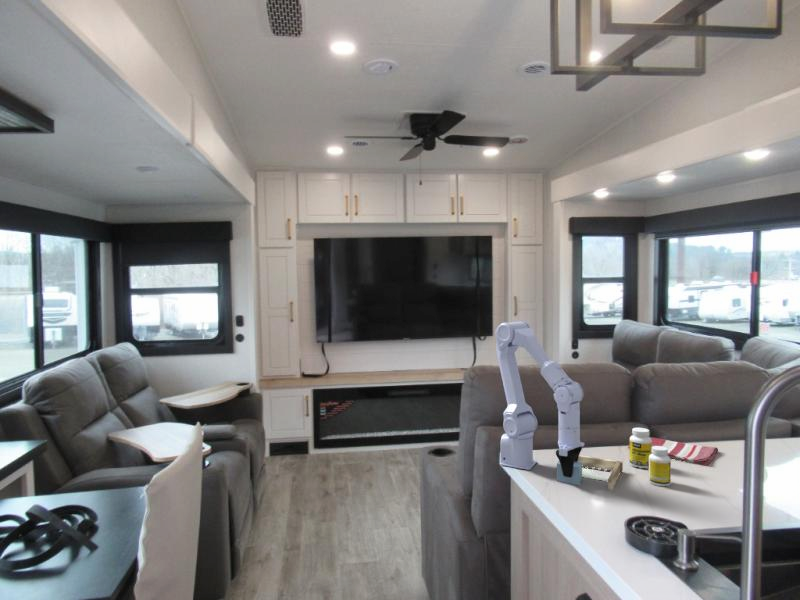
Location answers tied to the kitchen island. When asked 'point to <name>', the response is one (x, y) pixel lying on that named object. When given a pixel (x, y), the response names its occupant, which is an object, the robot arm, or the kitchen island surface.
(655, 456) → the supplement bottle
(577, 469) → the slate block
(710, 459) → the dish towel
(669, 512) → the kitchen island surface
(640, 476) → the kitchen island surface
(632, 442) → the pill bottle
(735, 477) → the kitchen island surface
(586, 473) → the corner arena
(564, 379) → the robot arm
